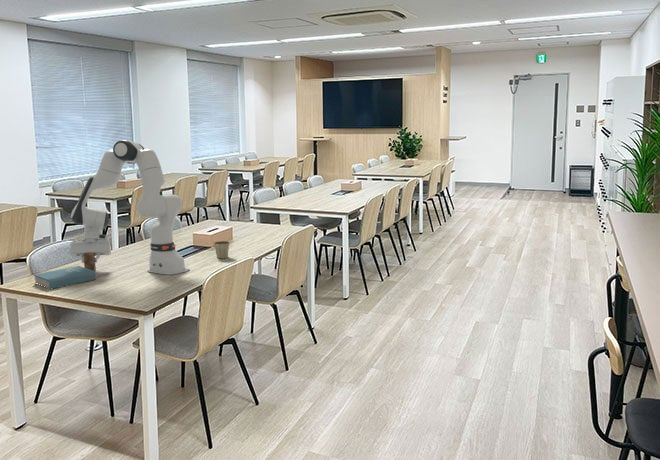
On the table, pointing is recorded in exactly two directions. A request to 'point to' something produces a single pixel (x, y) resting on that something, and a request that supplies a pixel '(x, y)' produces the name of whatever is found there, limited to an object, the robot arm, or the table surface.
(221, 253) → the flower pot
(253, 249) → the table surface
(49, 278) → the book
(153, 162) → the robot arm
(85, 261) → the walnut block
